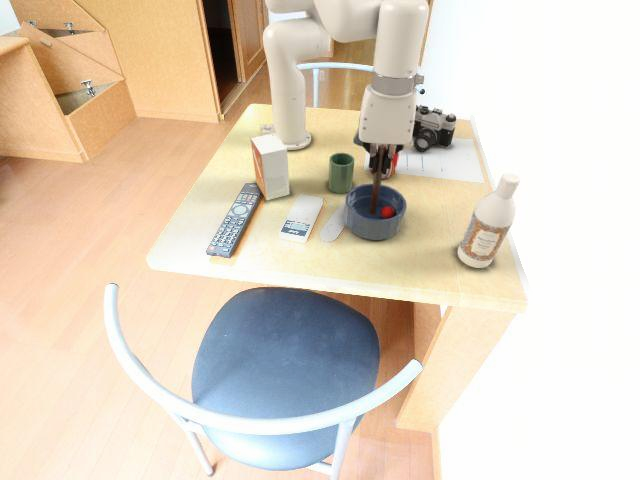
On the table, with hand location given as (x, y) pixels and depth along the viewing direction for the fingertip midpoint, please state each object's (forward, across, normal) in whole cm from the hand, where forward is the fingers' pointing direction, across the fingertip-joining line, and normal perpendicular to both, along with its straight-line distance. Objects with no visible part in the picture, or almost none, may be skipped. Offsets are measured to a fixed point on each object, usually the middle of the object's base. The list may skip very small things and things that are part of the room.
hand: (378, 170), depth 75 cm
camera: (+13, -16, -34) cm, 40 cm away
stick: (+10, 0, +1) cm, 11 cm away
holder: (+13, +8, -11) cm, 18 cm away
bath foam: (+13, -21, +12) cm, 27 cm away
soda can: (+13, -3, -18) cm, 22 cm away
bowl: (+12, 0, +2) cm, 13 cm away
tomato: (+10, -3, +1) cm, 11 cm away
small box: (+13, +25, -8) cm, 29 cm away
